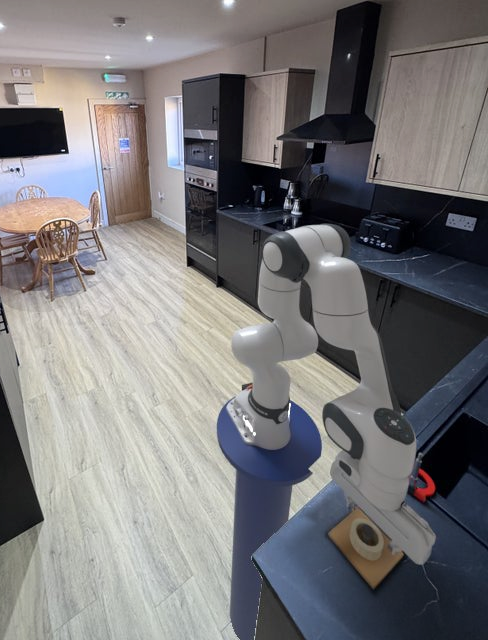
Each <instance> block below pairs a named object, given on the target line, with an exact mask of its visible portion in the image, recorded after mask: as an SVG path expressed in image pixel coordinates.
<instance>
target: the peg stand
mask: <svg viewBox="0 0 488 640" xmlns="http://www.w3.org/2000/svg"><path fill="white" fill-rule="evenodd" d="M358 518H363V519H367V520H368V521H370V522H372V523H373V524H374V525H375V526H376V527H377V528H378V529H379V531H380V532H381V534H382V536H383V540H384V546H383V550H382V554H381V557H380V558H379V559H378V560H374V561H371V560H367V559H366V558H363V557H362V556H360V555H359V554H358V553H357V551H356V550H355V549H354V548H353V546H352V544H351V541H350V530H351V526H352V522H353V521H354V520H355V519H358ZM362 531H363V532H362ZM362 531H360V532H357V535H358V537H359V538H360V539H361V541H362V542H363V543H365V544H366V545H368V546H376V544H375V542H374V540H373V539H372V537H374V530H373V529H372V527H371V526H369V525H367V524H364V525H363V526H362ZM327 536H328V537H329V538H330V540H331V541H332V542H333V543H334V545H335V546H336V547H337V549H339V550H340V552H341V553H342V554H343V555H344V557H346V559H347V560H348V561H349V562H350V564H351V565H352V566H353V567H354V568H355V570H356V571H357V572H358V573H359V575H360V576H361V577H362V578H363V579H364V581H365V582H366V583H367V584H368V585H369V586H370V588H371V589H372V590H375V589H376V588H377V587H378V586H379V585H380V583H382V582H383V580H384V579H385V578H386V577H387V575H389V573H390V572H392V570H393V569H394V568H395V566H397V565H398V564H399V562H400V561H401V560H402V559H403V558H404V552H403V551H402V552H398V553H397V554H396V555H395V556H394V555H393V554H392V553H391V552H390V551H389V550H388V549H387V547H388V544H389V542H391V540H392V539H391V538H390V537H389V536H388V535H387V534H386V533H385V532H384V531H383V530H382V529H381V528H380V527H379V526H378V525H377V524H376V523H375V522H374V521H373V520H372V519H371V518H370V517H369V516H368V515H367V514H366V513H365V512H364V511H363V510H362V509H361V508H360V507H359V506H357V508H356V510H354V511H353V512H352V511H351V512H350V513H349V514H348V515H347V516H346V517H344V518H343V519H342V520H341V521H340V522H339V523H337V525H335V526H334V527H333V528H332V529H331V530H330V531H329V532H328V534H327Z"/></svg>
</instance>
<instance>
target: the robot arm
mask: <svg viewBox="0 0 488 640" xmlns="http://www.w3.org/2000/svg"><path fill="white" fill-rule="evenodd" d="M351 247H352V243H351V237H350V236H349V234H348V232H347V231H346V230H345V229H344V228H343V227H341V226H340V225H338V224H333V223H320V224H311V225H303V226H299V227H296V228H292V229H288V230H285V231H284V230H283V231H282V230H281V231H278V232H275V233H273V234H271V235H269V236H268V237H267V238H266V239H265V240H264V241H263V244H262V248H261V258H262V259H261V264H260V268H259V277H258V293H257V305H258V308H259V310H260V311H261V312H262V313H263V314H264V315H265V316H266V317H268V318H270V319H273V321H272V322H268V323H260V324H253V325H249V326H246V327H243V328H239V329H237V330H235V332H234V333H233V335H232V338H231V342H230V347H231V352H232V355H233V357H234V358H235V359H236V361H237V362H238V363H240V365H243V366H245V367H247V368H248V369H249V371H250V373H251V377H252V382H248V383H244V384H241V391H240V392H238V393H237V394H236V395H235V396H236V397H235V396H234V397H235V398H234V397H233V398H234V399H233V400H231V401H230V402H229V403H228V405H227V407H226V410H227V412H228V414H229V416H230V418H231V419H232V421H233V423H234V425H235V427H236V429H237V430H238V432H239V434H240V436H241V438H242V439H243V441H244V443H245V444H247V445H256V446H259V447H261V448H264V449H268V450H277V449H280V448H283V447H284V446H286V445H287V444H288V442H289V440H290V436H291V433H290V428H289V423H290V417H289V411H290V400H291V397H290V390H291V382H292V381H291V376H290V374H289V372H288V371H287V369H286V368H285V367H283V365H280V363H283V362H289V361H296V360H301V359H304V358H307V357H309V356H311V355H314V354H315V353H316V352H317V349H318V347H319V337H318V336H320V338H321V339H322V340H324V341H325V342H326V343H327V344H329V345H332V346H334V347H336V348H340V349H343V350H347V351H353V352H354V354H355V357H356V362H357V367H358V371H359V376H360V382H359V384H358V386H357V387H356V388H355V389H354V390H352V391H349V392H347V393H346V394H343V395H340V396H338V397H336V398H334V399H332V400H330V401H328V402H327V403H325V404H324V405H323V408H322V411H321V413H322V414H321V415H322V416H321V418H322V422H323V427H324V430H325V434H326V435H327V436H328V438H329V439H330V440H331V441H332V443H334V445H336V446H337V447H338V448H339V449H341V451H339V452H338V454H337V455H335V457H334V460H333V462H332V463H331V466H330V470H329V475H330V477H331V479H332V481H333V482H334V483H335V484H336V485H337V486H338V487H339V488H340V489H341V490H342V491H343V495H344V498H345V500H346V504H345V506H346V508H348V510H349V511H351V512H353V511H354V510H356V508H357V507H358V508H359V509H360V510H361V511H362V512H363V513H364V514H365V515H366V516H367V517H368V518H369V519H370V520H371V521H372V522H373V523H374V524H375V525H376V526H377V527H378V528H379V529H380V530H381V531H382V532H383V533H384V534H385V535H386V536H387V537H388V538H389V539H390V540H391V542H389V544H388V547H387V549H388V550H389V551H390V552H391V553H392V554H393V555H394V556H395V555H396V554H397V553H398V552H402V553H405V555H406V556H407V557H408V558H410V560H411V561H412V562H413V563H414V564H416V565H420V566H423V565H424V564H425V563H426V562H427V561H428V560H429V558H430V557H431V555H432V551H433V547H434V546H435V543H436V539H437V536H436V534H435V532H434V531H433V529H432V528H431V527H430V524H429V523H428V521H427V520H425V519H424V518H423V517H421V516H420V515H419V514H418V513H417V512H416V511H415V509H413V508H412V507H411V506H410V505H409V504H408V503H406V502H405V501H406V498H407V494H408V491H407V490H408V486H409V477H410V474H412V470H413V466H414V464H415V461H416V457H417V456H416V455H417V438H416V433H415V430H414V427H413V426H412V424H411V423H410V421H409V420H408V419H407V418H406V417H405V416H404V415H402V410H401V406H400V403H399V401H398V399H397V396H396V394H395V392H394V389H393V386H392V382H391V377H390V372H389V368H388V367H389V366H388V363H387V358H386V354H385V349H384V346H383V342H382V338H381V336H380V334H379V331H378V329H377V328H376V327H375V325H373V324H372V323H371V318H370V314H369V305H368V298H367V292H366V287H365V282H364V278H363V275H362V271H361V269H360V267H359V265H358V264H357V263H356V262H355V261H353V260H352V259H349V258H348V257H349V256H350V253H351ZM303 280H304V281H305V282H306V283H307V284H308V286H309V288H310V294H311V307H312V319H313V324H314V327H313V325H311V324H310V322H308V321H307V320H305V319H304V318H303V316H302V314H301V310H300V298H301V287H302V281H303Z"/></svg>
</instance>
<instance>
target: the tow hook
mask: <svg viewBox="0 0 488 640" xmlns="http://www.w3.org/2000/svg"><path fill="white" fill-rule="evenodd" d="M423 456H424V455H423V453H422V452H418V454H417V458H416V457H415V462H414V466H413V470H412V473H411V474H410V475H409V476H408V477H409V486H408V490H407V493H409V494H411V495H412V496H414V497H415V498H417V499H418V500H419V501H421V502H422V503H425V502H426V499H427V498H428V497H432V496H433V495H434V494H435V492H436V485H435V483H434V480H433V479H432V477H430V475H429V474H428V473H427V472H426V471H424V470H423V469H421V466H422V463H423V461H422V460H423V459H422V458H423ZM418 475H419V476H421V478H422V479H424V480H425V483H426V485H427V487H426V488H420V487H418V485H417V483H418V477H419V476H418Z"/></svg>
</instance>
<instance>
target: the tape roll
mask: <svg viewBox="0 0 488 640" xmlns="http://www.w3.org/2000/svg"><path fill="white" fill-rule="evenodd" d="M372 522H373V521H372ZM372 522H370V521H368V520H367V519H363V518H358V519H355V520H354V521H353V522H352V526H351V530H350V541H351V544H352V546H353V548H354V549H355V550H356V551H357V553H358V554H359V555H360V556H362V557H363V558H366V559H367V560H371V561H374V560H378V559H379V558H380V557H381V554H382V550H383V546H384V540H383V536H382V534H381V532H380V531H379V529H380V528H379V527H378V526H377V525H376V524H375V523H374V522H373V523H374V524H375V525H376V526H377V527H378V528H379V529H378V528H377V527H376V526H375V525H374V524H373V523H372ZM364 524H367V525H369V526H371V527H372V529H373V530H374V537H372V539H373V540H374V542H375V544H376V546H368V545H366V544H365V543H363V542H362V541H361V539H360V538H359V537H358V535H357V532H360V531H362V526H363V525H364ZM362 532H363V531H362Z"/></svg>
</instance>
